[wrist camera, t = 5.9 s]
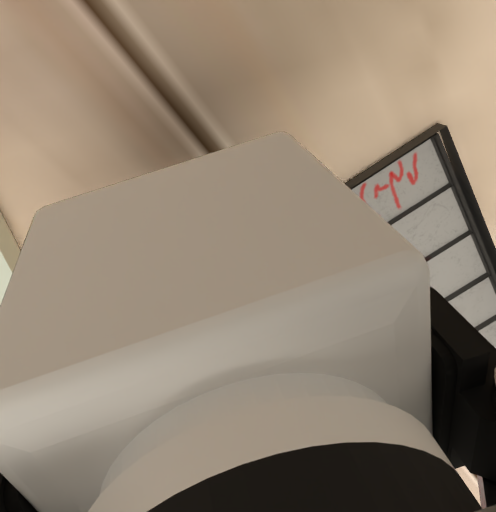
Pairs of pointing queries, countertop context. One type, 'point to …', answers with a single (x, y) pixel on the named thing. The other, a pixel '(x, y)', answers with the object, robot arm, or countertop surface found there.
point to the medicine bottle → (221, 347)
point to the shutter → (438, 221)
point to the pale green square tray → (6, 256)
